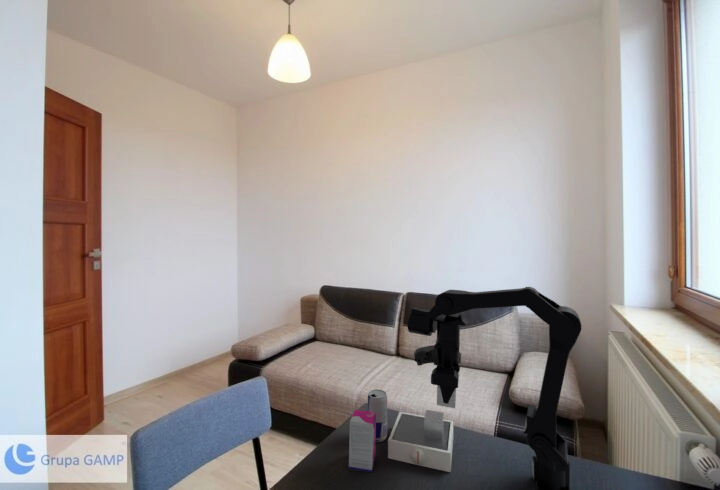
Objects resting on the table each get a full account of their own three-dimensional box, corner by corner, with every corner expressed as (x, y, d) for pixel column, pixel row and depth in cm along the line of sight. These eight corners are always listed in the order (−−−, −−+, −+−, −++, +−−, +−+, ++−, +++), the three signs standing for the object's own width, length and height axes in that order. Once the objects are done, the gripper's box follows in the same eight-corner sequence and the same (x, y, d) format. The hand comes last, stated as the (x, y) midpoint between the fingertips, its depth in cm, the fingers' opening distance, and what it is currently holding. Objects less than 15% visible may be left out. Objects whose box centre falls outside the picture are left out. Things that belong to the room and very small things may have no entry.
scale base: (453, 437, 88) (453, 421, 88) (450, 473, 74) (450, 454, 74) (399, 427, 93) (399, 411, 93) (387, 459, 79) (387, 441, 79)
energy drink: (364, 433, 90) (364, 391, 90) (381, 429, 92) (381, 387, 92) (373, 444, 85) (373, 400, 85) (390, 439, 87) (390, 395, 87)
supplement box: (372, 472, 75) (372, 424, 74) (348, 469, 76) (348, 421, 76) (376, 456, 80) (376, 411, 80) (353, 453, 82) (353, 408, 81)
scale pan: (449, 426, 87) (449, 422, 87) (446, 454, 76) (446, 450, 76) (402, 417, 92) (402, 414, 92) (392, 443, 80) (392, 439, 80)
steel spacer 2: (455, 399, 85) (456, 383, 84) (454, 408, 80) (455, 390, 80) (438, 396, 86) (438, 380, 86) (436, 404, 82) (437, 387, 82)
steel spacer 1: (443, 429, 84) (443, 412, 84) (442, 439, 80) (442, 421, 80) (426, 426, 86) (426, 409, 86) (424, 436, 81) (424, 418, 81)
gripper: (422, 326, 94) (421, 378, 95) (410, 346, 77) (408, 410, 77) (461, 330, 91) (460, 385, 91) (458, 353, 73) (456, 420, 73)
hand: (446, 398), depth 83 cm, fingers closed on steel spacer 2, 4 cm apart
